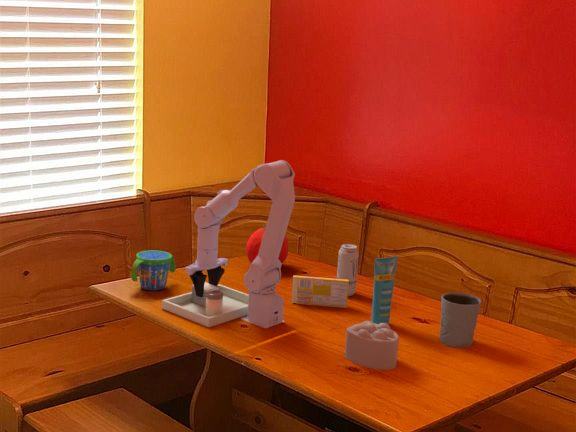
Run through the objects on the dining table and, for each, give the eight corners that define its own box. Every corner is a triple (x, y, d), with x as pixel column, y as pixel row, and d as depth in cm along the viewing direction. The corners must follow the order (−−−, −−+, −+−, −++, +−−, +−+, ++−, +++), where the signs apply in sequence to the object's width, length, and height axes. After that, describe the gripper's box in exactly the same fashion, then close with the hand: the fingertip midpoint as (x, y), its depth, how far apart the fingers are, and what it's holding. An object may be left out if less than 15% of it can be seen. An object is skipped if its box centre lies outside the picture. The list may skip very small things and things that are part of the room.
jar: (225, 317, 226) (226, 294, 224) (213, 322, 222) (214, 297, 221) (213, 313, 229) (214, 289, 227) (201, 317, 225) (202, 293, 224)
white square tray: (265, 310, 235) (265, 300, 234) (208, 329, 219) (208, 318, 218) (218, 293, 247) (219, 284, 246) (161, 310, 230) (162, 300, 230)
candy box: (347, 306, 243) (349, 279, 241) (346, 308, 241) (349, 281, 239) (291, 301, 244) (293, 274, 242) (291, 303, 242) (292, 276, 240)
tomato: (271, 259, 284) (273, 220, 281) (297, 270, 274) (299, 229, 271) (234, 266, 274) (236, 225, 271) (260, 277, 264) (262, 235, 261)
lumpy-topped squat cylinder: (366, 346, 214) (369, 314, 212) (406, 363, 205) (409, 330, 203) (339, 356, 207) (341, 323, 205) (379, 373, 198) (382, 339, 196)
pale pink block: (218, 304, 236) (218, 287, 235) (206, 307, 233) (206, 290, 231) (203, 298, 240) (203, 281, 239) (191, 301, 237) (191, 284, 235)
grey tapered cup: (429, 338, 221) (433, 296, 218) (453, 331, 228) (458, 289, 225) (459, 351, 214) (464, 307, 211) (483, 343, 220) (489, 300, 217)
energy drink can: (349, 298, 250) (353, 250, 246) (332, 293, 253) (335, 246, 249) (358, 293, 255) (362, 246, 251) (341, 289, 258) (345, 242, 254)
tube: (375, 328, 226) (381, 260, 222) (364, 322, 230) (369, 256, 226) (396, 324, 230) (402, 257, 226) (385, 318, 234) (390, 253, 230)
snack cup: (164, 278, 258) (165, 246, 256) (185, 287, 251) (186, 255, 248) (121, 287, 247) (121, 254, 245) (141, 297, 240) (141, 263, 238)
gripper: (216, 240, 240) (214, 285, 243) (178, 249, 229) (177, 295, 233) (233, 245, 236) (231, 291, 239) (195, 254, 225) (194, 302, 228)
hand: (205, 294), depth 235 cm, fingers closed on pale pink block, 4 cm apart
